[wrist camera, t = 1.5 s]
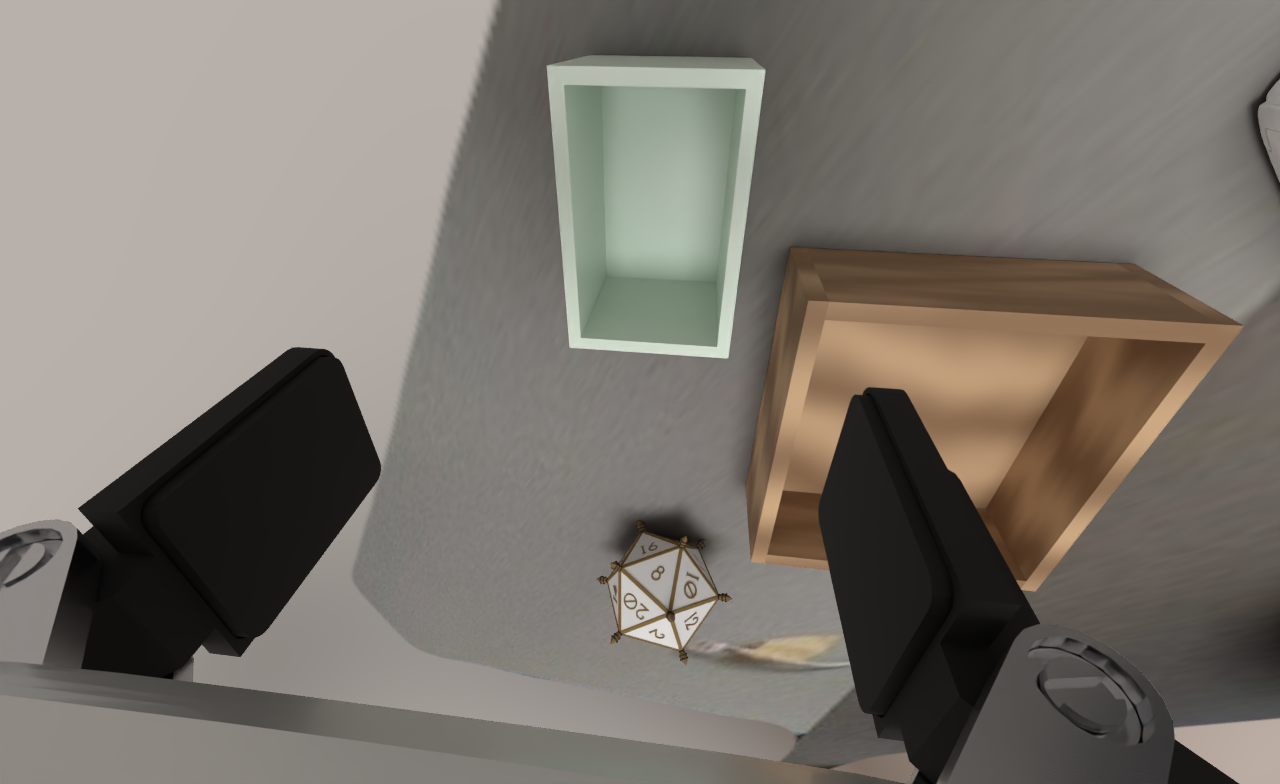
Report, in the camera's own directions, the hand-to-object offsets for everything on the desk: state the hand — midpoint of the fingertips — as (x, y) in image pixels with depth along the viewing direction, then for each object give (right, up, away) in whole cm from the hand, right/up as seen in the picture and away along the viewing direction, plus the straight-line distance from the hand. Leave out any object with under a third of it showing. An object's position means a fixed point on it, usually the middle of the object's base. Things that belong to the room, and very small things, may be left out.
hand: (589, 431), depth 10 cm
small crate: (+2, +10, +14) cm, 18 cm away
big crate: (+16, 0, +20) cm, 25 cm away
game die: (+3, -11, +30) cm, 32 cm away
